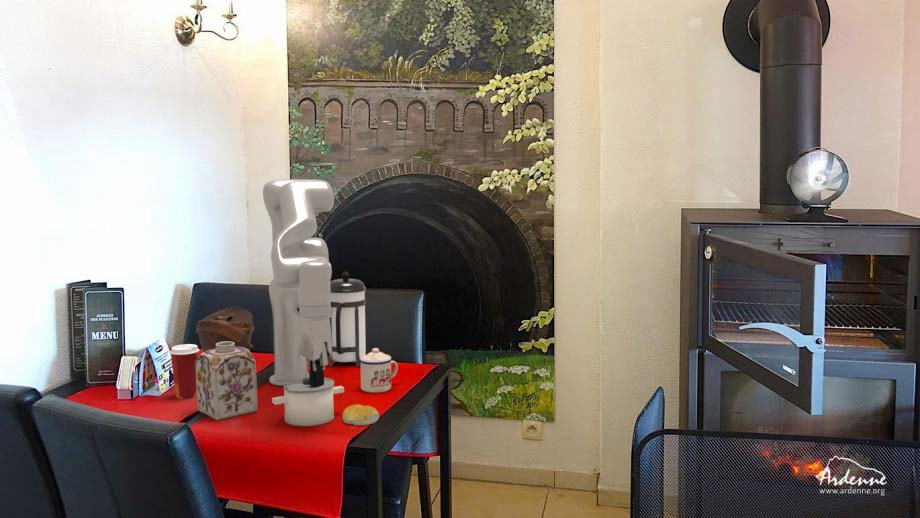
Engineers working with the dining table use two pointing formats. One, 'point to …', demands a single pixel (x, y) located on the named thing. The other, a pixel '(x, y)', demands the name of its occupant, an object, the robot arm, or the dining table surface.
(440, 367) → the dining table surface
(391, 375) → the teacup with lid
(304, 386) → the lid
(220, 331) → the case
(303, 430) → the dining table surface
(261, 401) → the dining table surface
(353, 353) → the coffee press
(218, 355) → the decorative jar
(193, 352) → the paper cup
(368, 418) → the bread roll
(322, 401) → the pot
